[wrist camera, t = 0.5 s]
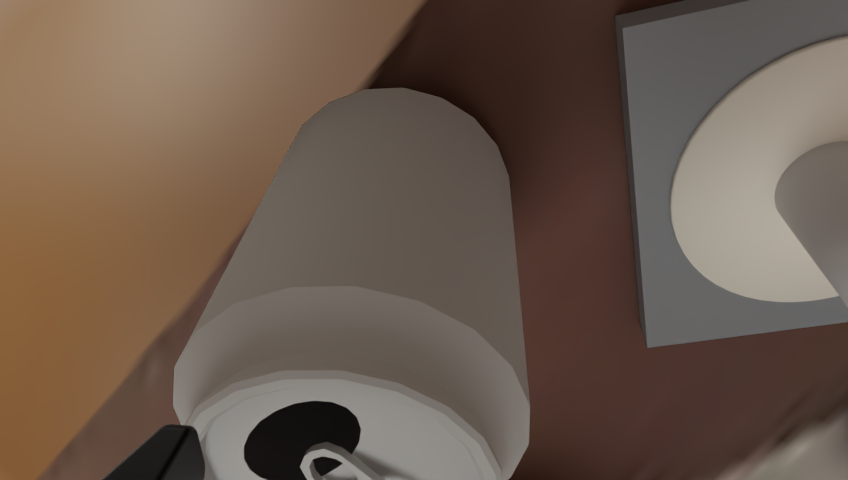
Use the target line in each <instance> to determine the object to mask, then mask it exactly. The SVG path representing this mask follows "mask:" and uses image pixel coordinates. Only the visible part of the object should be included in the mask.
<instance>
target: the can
mask: <svg viewBox="0 0 848 480" xmlns="http://www.w3.org/2000/svg"><path fill="white" fill-rule="evenodd" d="M173 407H174V409H175V411H176V414H177V416H178V418H179V421H180V423H181V425H189V426H193V427H194V428H195V429H196V430H197V433H198V437H199V441H200V445H201V449H202V453H203V457H204V461H205V476H204V480H508V479H509V478H511V476H512V474H513V473H514V471H515V469H516V467H517V465H518V463H519V462H520V460H521V458H522V456H523V454H524V452H525V451H526V449H527V447H528V445H529V424H530V400H529V389H528V378H527V367H526V356H525V345H524V334H523V324H522V313H521V302H520V291H519V280H518V269H517V258H516V247H515V236H514V225H513V214H512V204H511V193H510V182H509V175H508V173H507V170H506V167H505V165H504V162H503V159H502V157H501V154H500V151H499V149H498V146H497V145H496V143H495V142H494V141H493V140H492V139H491V137H490V136H489V135H488V134H487V133H486V131H485V130H484V129H483V128H482V127H481V125H480V124H479V123H478V122H477V121H476V119H475V118H474V117H472V116H470V115H469V114H467V113H466V112H464V111H462V110H461V109H459V108H458V107H456V106H454V105H453V104H451V103H449V102H448V101H446V100H445V99H443V98H441V97H437V96H433V95H430V94H426V93H422V92H418V91H414V90H411V89H407V88H383V89H364V90H361V91H359V92H356V93H353V94H350V95H348V96H345V97H342V98H340V99H337V100H334V101H332V102H329V103H328V104H327V105H326V106H324V107H323V108H322V109H321V110H320V111H318V112H317V113H316V114H315V115H314V116H312V117H311V118H310V119H309V120H308V121H306V123H304V124H303V125H302V127H301V129H300V130H299V132H298V134H297V136H296V137H295V139H294V141H293V143H292V145H291V146H290V148H289V150H288V152H287V154H286V155H285V157H284V159H283V161H282V163H281V165H280V167H279V169H278V171H277V173H276V175H275V176H274V179H273V180H272V182H271V184H270V186H269V188H268V190H267V192H266V194H265V195H264V197H263V200H262V201H261V203H260V205H259V207H258V209H257V211H256V213H255V215H254V217H253V218H252V220H251V222H250V224H249V226H248V228H247V230H246V232H245V234H244V236H243V238H242V239H241V241H240V243H239V245H238V247H237V249H236V251H235V253H234V255H233V257H232V259H231V260H230V262H229V264H228V266H227V268H226V270H225V272H224V274H223V276H222V278H221V280H220V281H219V283H218V285H217V287H216V289H215V291H214V293H213V295H212V297H211V299H210V301H209V302H208V304H207V306H206V308H205V310H204V312H203V314H202V316H201V318H200V320H199V322H198V323H197V325H196V327H195V329H194V331H193V333H192V335H191V337H190V339H189V341H188V343H187V344H186V346H185V348H184V350H183V352H182V354H181V356H180V358H179V360H178V362H177V364H176V365H175V367H174V393H173Z"/></svg>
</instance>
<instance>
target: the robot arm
mask: <svg viewBox="0 0 848 480" xmlns="http://www.w3.org/2000/svg"><path fill="white" fill-rule="evenodd" d="M204 476H205V461H204V457H203V453H202V449H201V445H200V441H199V437H198V433H197V430H196V429H195V428H194V427H193V426H189V425H175V424H169V425H165V426H163V427H161V428H160V429H159V430H158V431H156V432H155V433H154V434H153V435H152V436H151V437H150V438H149V439H147V440H146V441H145V442H144V443H143V444H142V445H141V446H139V447H138V448H137V449H136V450H135V451H134V452H133V453H132V454H130V455H129V456H128V457H127V458H126V459H125V460H124V461H122V462H121V463H120V464H119V465H118V466H117V467H116V468H115V469H113V470H112V471H111V472H110V473H109V474H108V475H107V476H105V477H104V478H103V479H102V480H204Z"/></svg>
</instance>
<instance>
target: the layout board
mask: <svg viewBox="0 0 848 480" xmlns="http://www.w3.org/2000/svg"><path fill="white" fill-rule="evenodd" d="M615 27H616V39H617V51H618V63H619V75H620V87H621V99H622V111H623V123H624V135H625V147H626V159H627V171H628V183H629V195H630V207H631V219H632V231H633V243H634V255H635V267H636V279H637V291H638V303H639V315H640V326H641V329H642V333H643V336H644V339H645V342H646V345H647V348H651V347H658V346H666V345H674V344H681V343H689V342H697V341H705V340H712V339H720V338H728V337H736V336H743V335H751V334H759V333H767V332H774V331H782V330H790V329H798V328H805V327H813V326H821V325H829V324H836V323H844V322H848V0H683V1H679V2H674V3H670V4H665V5H661V6H657V7H652V8H648V9H643V10H639V11H634V12H630V13H625V14H621V15H616V16H615Z"/></svg>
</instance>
